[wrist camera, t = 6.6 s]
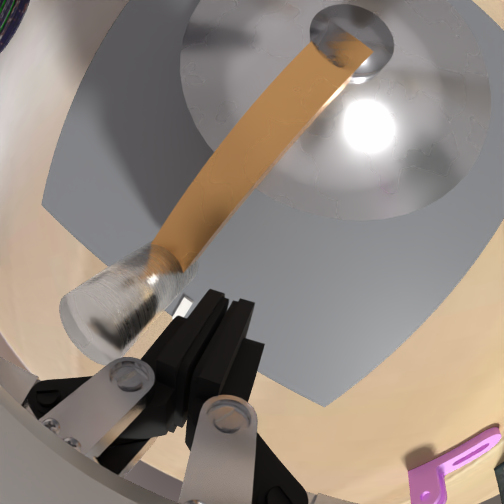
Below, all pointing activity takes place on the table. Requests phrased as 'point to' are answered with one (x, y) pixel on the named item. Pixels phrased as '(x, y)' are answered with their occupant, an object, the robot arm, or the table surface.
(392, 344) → the base plate
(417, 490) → the bracket
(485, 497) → the table surface
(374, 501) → the table surface
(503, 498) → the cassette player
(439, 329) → the table surface
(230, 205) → the capstan dial
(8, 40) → the storage jar
